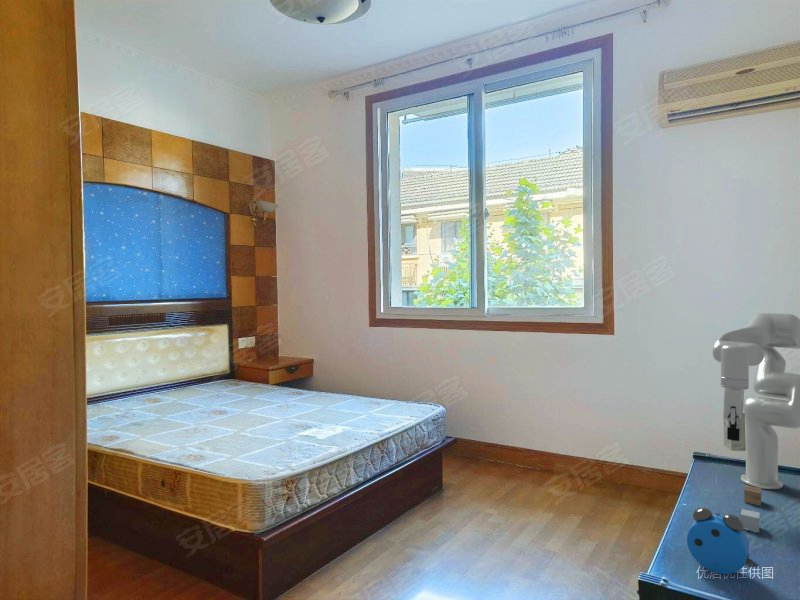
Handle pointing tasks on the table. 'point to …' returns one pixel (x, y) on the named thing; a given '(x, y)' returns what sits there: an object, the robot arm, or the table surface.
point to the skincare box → (741, 443)
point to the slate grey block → (750, 519)
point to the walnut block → (752, 495)
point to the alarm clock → (718, 541)
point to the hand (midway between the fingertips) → (734, 436)
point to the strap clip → (750, 562)
